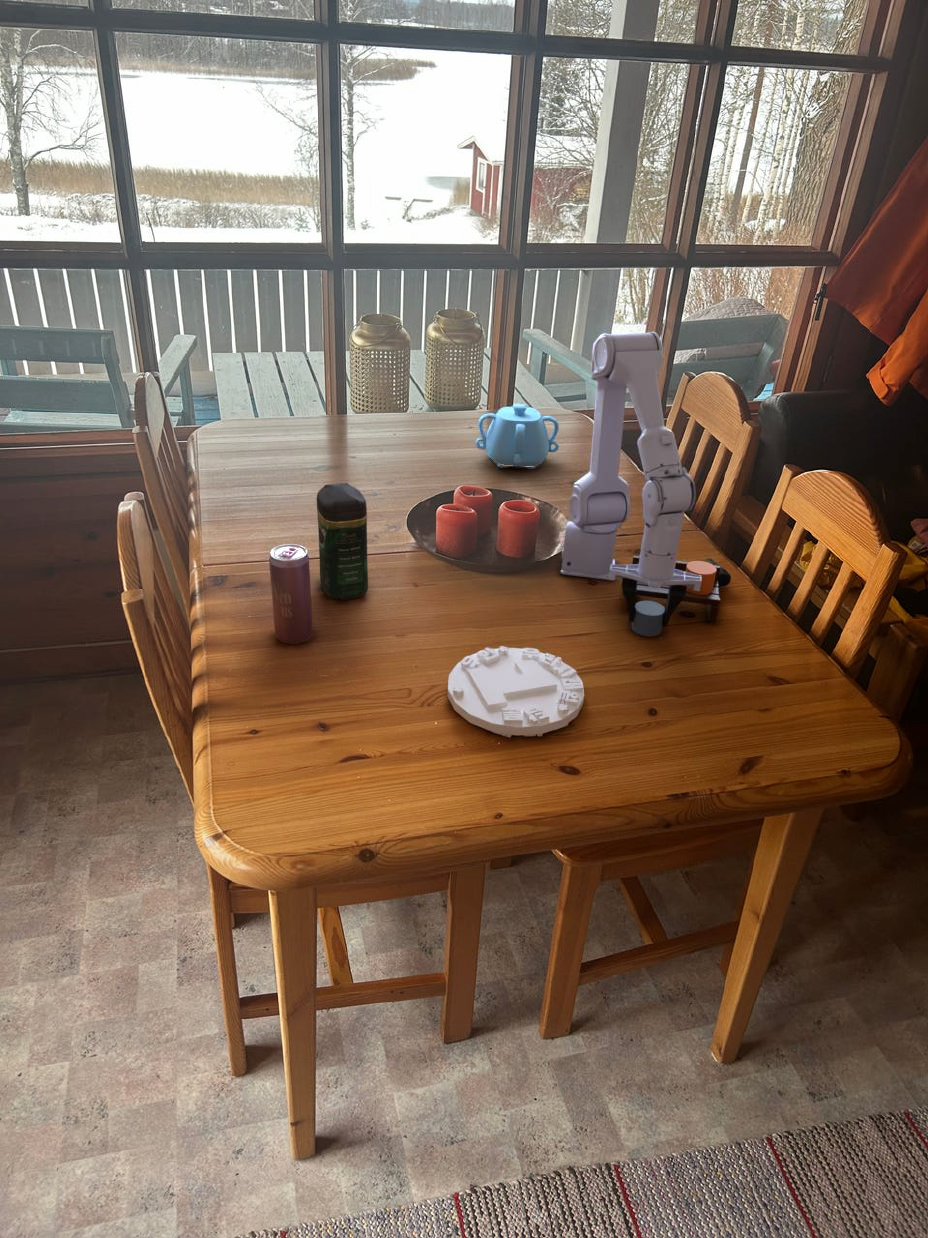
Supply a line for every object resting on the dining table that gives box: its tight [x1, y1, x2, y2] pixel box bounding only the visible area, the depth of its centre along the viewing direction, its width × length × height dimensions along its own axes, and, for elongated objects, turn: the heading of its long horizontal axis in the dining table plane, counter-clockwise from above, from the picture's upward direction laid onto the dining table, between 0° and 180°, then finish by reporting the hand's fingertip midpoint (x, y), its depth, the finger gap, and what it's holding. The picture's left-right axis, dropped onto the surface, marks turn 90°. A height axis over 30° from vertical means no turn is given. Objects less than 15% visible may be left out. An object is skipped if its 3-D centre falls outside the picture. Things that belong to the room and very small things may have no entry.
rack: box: [626, 555, 721, 624], centre depth 158 cm, size 15×9×6 cm, turn 79°
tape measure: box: [693, 558, 732, 589], centre depth 166 cm, size 7×7×4 cm
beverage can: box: [268, 543, 314, 645], centre depth 143 cm, size 6×6×15 cm
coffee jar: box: [316, 482, 369, 601], centre depth 156 cm, size 10×8×19 cm
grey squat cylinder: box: [631, 600, 665, 637], centre depth 151 cm, size 5×5×4 cm
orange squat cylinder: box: [686, 560, 717, 595], centre depth 156 cm, size 5×5×4 cm
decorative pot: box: [475, 403, 560, 470], centre depth 213 cm, size 16×16×14 cm
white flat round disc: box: [447, 645, 585, 739], centre depth 134 cm, size 20×20×3 cm
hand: (647, 621), depth 152 cm, fingers closed on grey squat cylinder, 5 cm apart
